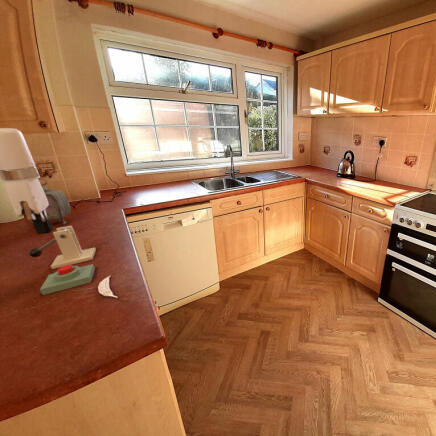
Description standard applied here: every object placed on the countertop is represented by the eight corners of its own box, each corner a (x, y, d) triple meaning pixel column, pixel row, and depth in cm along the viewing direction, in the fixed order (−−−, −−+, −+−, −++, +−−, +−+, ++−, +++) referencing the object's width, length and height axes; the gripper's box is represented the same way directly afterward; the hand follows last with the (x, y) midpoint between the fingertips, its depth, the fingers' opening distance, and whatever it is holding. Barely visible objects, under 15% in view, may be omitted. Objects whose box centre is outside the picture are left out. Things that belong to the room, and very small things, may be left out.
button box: (42, 295, 75) (37, 284, 73) (51, 280, 82) (46, 270, 81) (90, 282, 80) (86, 272, 79) (95, 269, 88) (91, 259, 86)
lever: (34, 260, 88) (25, 254, 86) (37, 256, 90) (28, 250, 88) (71, 235, 91) (62, 229, 89) (73, 232, 93) (65, 226, 92)
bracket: (51, 269, 89) (36, 237, 84) (58, 258, 96) (45, 228, 91) (92, 259, 94) (80, 229, 89) (96, 249, 101) (85, 221, 96)
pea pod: (97, 281, 81) (96, 277, 80) (113, 276, 83) (112, 272, 83) (100, 305, 70) (98, 301, 69) (118, 298, 72) (116, 294, 72)
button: (58, 276, 78) (56, 272, 77) (61, 271, 81) (59, 266, 80) (72, 273, 79) (70, 268, 79) (75, 267, 82) (73, 263, 82)
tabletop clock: (35, 228, 125) (12, 180, 115) (47, 221, 133) (27, 176, 124) (67, 225, 127) (47, 178, 118) (77, 219, 136) (60, 174, 126)
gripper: (13, 171, 73) (38, 226, 80) (-13, 181, 61) (18, 245, 68) (46, 169, 77) (67, 222, 84) (27, 177, 65) (53, 239, 72)
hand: (45, 232), depth 76 cm, fingers closed
